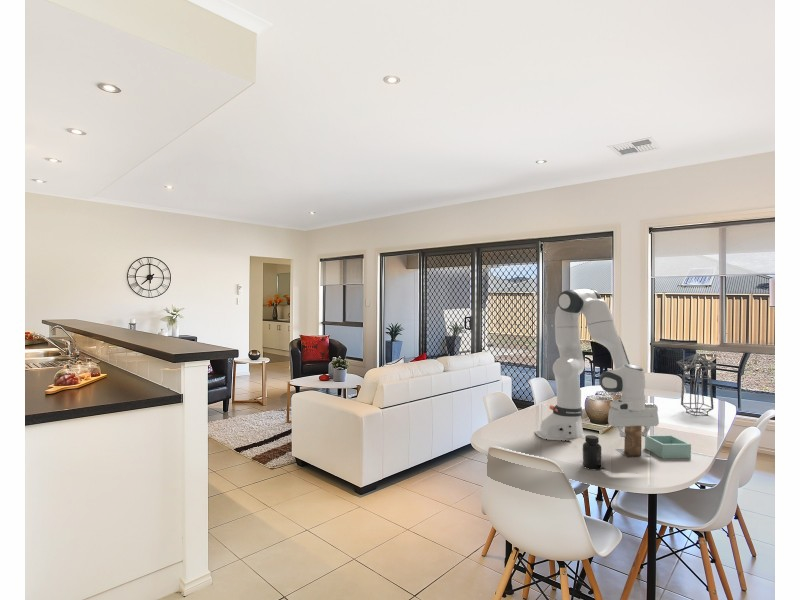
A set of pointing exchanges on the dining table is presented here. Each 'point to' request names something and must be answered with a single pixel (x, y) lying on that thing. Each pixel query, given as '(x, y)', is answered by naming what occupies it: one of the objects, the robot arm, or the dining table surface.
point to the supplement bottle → (592, 453)
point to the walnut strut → (633, 440)
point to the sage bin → (668, 446)
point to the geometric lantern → (698, 382)
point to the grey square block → (632, 455)
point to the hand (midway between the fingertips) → (633, 436)
